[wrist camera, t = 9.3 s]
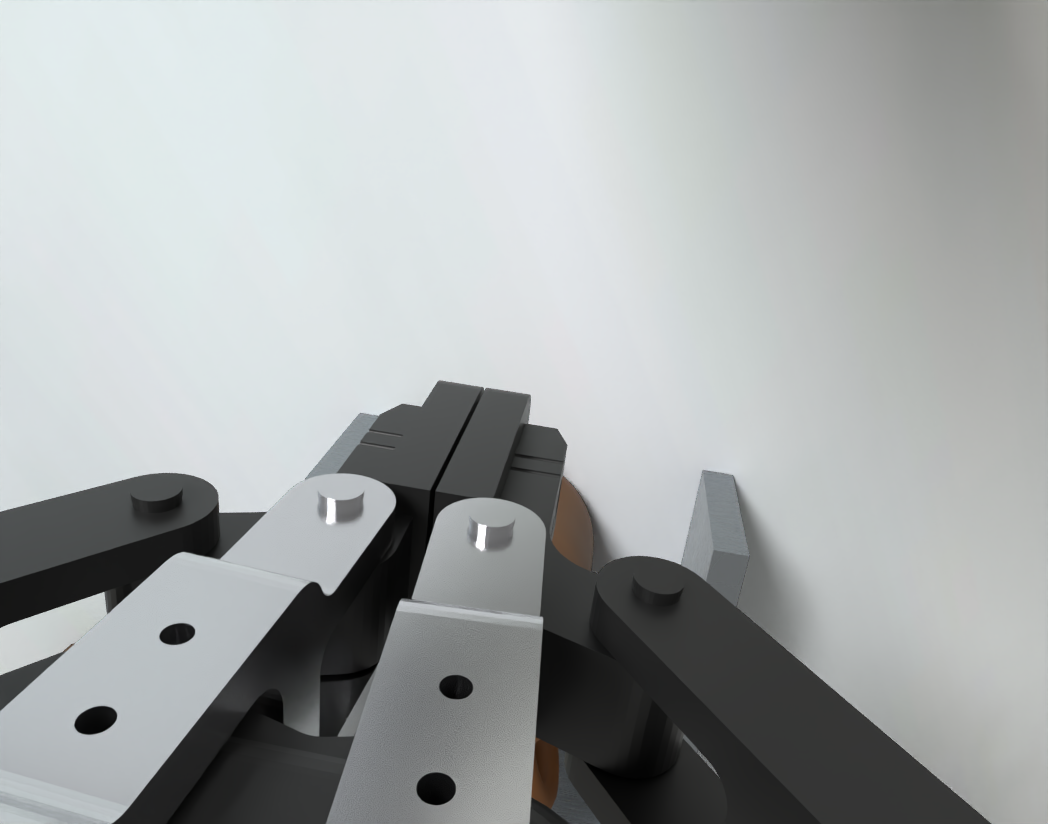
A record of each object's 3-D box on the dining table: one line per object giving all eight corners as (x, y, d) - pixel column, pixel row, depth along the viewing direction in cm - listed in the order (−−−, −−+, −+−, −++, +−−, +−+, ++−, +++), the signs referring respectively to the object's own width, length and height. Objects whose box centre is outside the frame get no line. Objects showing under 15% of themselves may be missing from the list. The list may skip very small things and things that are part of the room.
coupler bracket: (360, 413, 34) (296, 489, 28) (732, 475, 33) (752, 569, 27) (347, 704, 41) (293, 820, 34) (661, 766, 39) (663, 897, 33)
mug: (641, 665, 37) (638, 844, 29) (483, 689, 39) (436, 865, 30) (567, 427, 33) (539, 553, 25) (396, 466, 35) (314, 596, 26)
